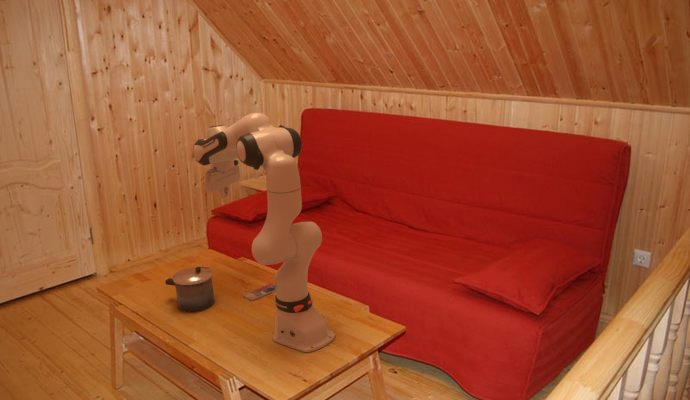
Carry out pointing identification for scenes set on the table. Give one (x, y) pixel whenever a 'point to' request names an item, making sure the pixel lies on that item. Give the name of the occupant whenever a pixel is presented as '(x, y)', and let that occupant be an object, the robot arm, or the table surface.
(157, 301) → the table surface
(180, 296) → the cooker pot
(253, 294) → the smartphone
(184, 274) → the lid
